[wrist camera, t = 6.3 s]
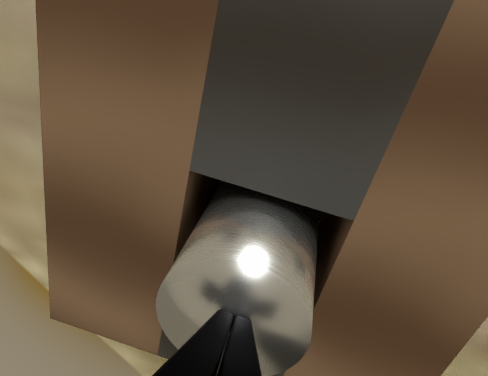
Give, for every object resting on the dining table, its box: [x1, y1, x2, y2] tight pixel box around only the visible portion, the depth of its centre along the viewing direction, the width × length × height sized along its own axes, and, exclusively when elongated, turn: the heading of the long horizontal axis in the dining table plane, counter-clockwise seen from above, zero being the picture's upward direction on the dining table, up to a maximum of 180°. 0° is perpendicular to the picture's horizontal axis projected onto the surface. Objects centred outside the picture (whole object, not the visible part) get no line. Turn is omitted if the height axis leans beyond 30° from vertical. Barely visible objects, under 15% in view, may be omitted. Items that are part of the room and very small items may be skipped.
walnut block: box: [36, 0, 488, 376], centre depth 11 cm, size 24×14×5 cm, turn 167°
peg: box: [156, 181, 319, 376], centre depth 12 cm, size 4×4×5 cm
